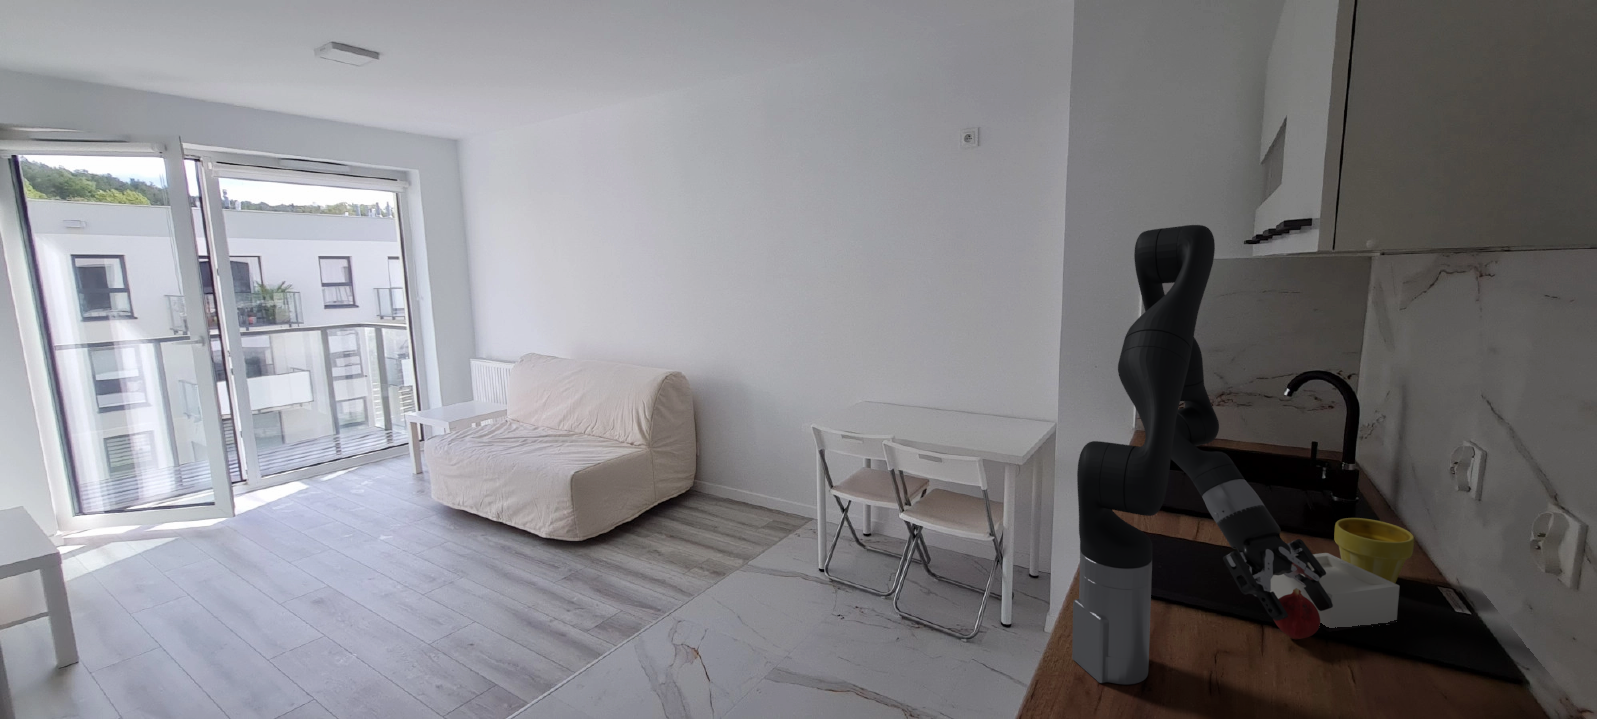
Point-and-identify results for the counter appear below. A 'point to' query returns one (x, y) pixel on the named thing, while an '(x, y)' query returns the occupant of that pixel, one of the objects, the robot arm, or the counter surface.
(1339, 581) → the tray
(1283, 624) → the onion
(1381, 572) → the plant pot
